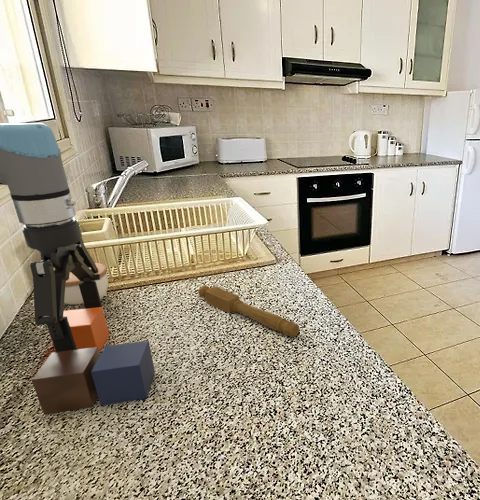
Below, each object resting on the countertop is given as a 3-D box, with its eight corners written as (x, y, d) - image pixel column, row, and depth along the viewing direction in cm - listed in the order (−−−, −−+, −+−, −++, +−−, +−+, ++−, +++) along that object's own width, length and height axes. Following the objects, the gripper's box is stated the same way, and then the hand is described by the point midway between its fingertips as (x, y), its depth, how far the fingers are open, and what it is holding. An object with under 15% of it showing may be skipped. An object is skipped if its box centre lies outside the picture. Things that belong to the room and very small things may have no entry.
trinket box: (46, 307, 84) (34, 269, 80) (92, 288, 93) (83, 253, 90) (78, 318, 80) (67, 279, 77) (123, 296, 89) (115, 260, 86)
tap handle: (289, 328, 73) (194, 286, 88) (290, 341, 74) (196, 298, 90) (300, 321, 76) (205, 282, 91) (300, 333, 77) (207, 293, 92)
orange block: (57, 359, 67) (48, 329, 65) (72, 339, 73) (63, 310, 71) (98, 354, 69) (90, 324, 67) (109, 335, 75) (102, 306, 72)
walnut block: (43, 414, 56) (31, 379, 53) (62, 385, 62) (51, 352, 59) (93, 406, 57) (83, 372, 55) (106, 378, 63) (98, 346, 61)
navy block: (100, 405, 58) (90, 371, 55) (113, 377, 63) (105, 345, 61) (146, 398, 59) (139, 364, 57) (155, 371, 65) (148, 340, 63)
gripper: (39, 244, 52) (79, 369, 59) (100, 202, 74) (123, 296, 82) (-26, 249, 50) (23, 377, 58) (57, 204, 72) (84, 300, 80)
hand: (82, 330), depth 70 cm, fingers open, 13 cm apart
